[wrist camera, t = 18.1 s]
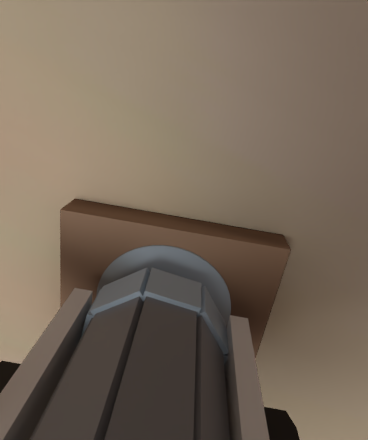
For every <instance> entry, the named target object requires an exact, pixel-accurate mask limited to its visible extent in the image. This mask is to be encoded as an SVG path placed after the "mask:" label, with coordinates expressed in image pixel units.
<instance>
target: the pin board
mask: <svg viewBox="0 0 368 440" xmlns="http://www.w3.org/2000/svg"><path fill="white" fill-rule="evenodd" d="M60 249H61V307H62V305H63V304H64V303H65V301H66V300H67V298H68V297H69V295H70V294H71V293H72V291H73V290H74V288H78V289H84V290H90V291H93V293H92V304H93V302H94V300H95V298H96V296H97V295H98V293H99V291H100V289H102V287H103V286H104V285H107V284H109V283H112V282H114V281H116V280H119V279H121V278H123V277H126V276H128V275H131V274H133V273H135V272H138V271H140V270H142V269H145V268H148V270H149V272H151V269H152V268H155V269H159V270H162V271H165V272H168V273H171V274H174V275H177V276H181V277H184V278H187V279H190V280H193V281H196V282H200V283H201V287H204V286H205V287H206V288H207V290H208V292H209V294H210V296H211V298H212V299H213V301H214V303H215V305H216V307H217V308H218V310H219V312H220V314H221V316H222V317H223V319H224V321H225V323H226V328H227V325H228V321H229V317H230V315H232V316H237V317H243V318H248V321H249V327H250V333H251V338H252V344H253V349H254V355H255V358H256V355H257V352H258V349H259V346H260V343H261V340H262V337H263V334H264V330H265V327H266V324H267V321H268V318H269V315H270V312H271V309H272V306H273V303H274V300H275V297H276V294H277V291H278V288H279V285H280V282H281V279H282V276H283V273H284V270H285V267H286V264H287V261H288V257H289V254H290V251H291V249H290V247H289V245H288V243H287V241H286V240H285V238H284V236H283V235H280V234H274V233H268V232H262V231H257V230H251V229H245V228H239V227H234V226H228V225H222V224H216V223H211V222H205V221H199V220H193V219H188V218H182V217H176V216H170V215H165V214H159V213H153V212H147V211H142V210H136V209H130V208H124V207H119V206H113V205H107V204H101V203H96V202H90V201H84V200H78V199H74V200H73V201H71V202H70V203H69V204H67V205H66V206H65V207H63V208H62V209H61V210H60Z"/></svg>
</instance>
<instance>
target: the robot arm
mask: <svg viewBox="0 0 368 440" xmlns="http://www.w3.org/2000/svg"><path fill="white" fill-rule="evenodd" d="M92 293H93V291H90V290H84V289H78V288H74V290H73V291H72V293H71V294H70V295H69V297H68V298H67V300H66V301H65V303H64V304H63V305H62V307H61V308H60V310H59V311H58V312H57V314H56V315H55V317H54V318H53V319H52V321H51V322H50V324H49V325H48V327H47V328H46V329H45V331H44V332H43V334H42V335H41V336H40V338H39V339H38V341H37V342H36V344H35V345H34V346H33V348H32V349H31V351H30V352H29V353H28V355H27V356H26V358H25V359H24V361H23V362H22V363H21V364H17V363H11V362H6V361H1V362H0V440H30V438H31V436H32V434H33V432H34V430H35V428H36V426H37V424H38V422H39V420H40V418H41V416H42V414H43V412H44V410H45V408H46V406H47V404H48V402H49V400H50V398H51V396H52V395H53V393H54V391H55V389H56V387H57V385H58V383H59V381H60V379H61V377H62V375H63V373H64V371H65V369H66V367H67V365H68V363H69V361H70V359H71V357H72V355H73V353H74V351H75V349H76V347H77V345H78V343H79V342H80V339H81V335H82V331H83V328H84V324H85V320H86V316H87V313H88V311H89V309H90V308H91V306H92ZM227 338H228V349H229V353H227V355H228V357H227V361H226V364H225V366H224V369H225V382H226V394H227V406H228V419H229V431H230V440H300V439H299V436H298V432H297V428H296V426H295V425H294V423H293V422H292V420H291V418H290V417H289V415H288V413H287V412H286V411H284V410H278V409H273V408H267V407H264V405H263V400H262V394H261V389H260V383H259V377H258V372H257V366H256V361H255V355H254V349H253V344H252V338H251V333H250V327H249V321H248V318H243V317H237V316H232V315H230V317H229V321H228V325H227Z"/></svg>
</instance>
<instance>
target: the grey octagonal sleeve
mask: <svg viewBox="0 0 368 440" xmlns="http://www.w3.org/2000/svg"><path fill="white" fill-rule="evenodd" d="M227 353H229V349H228V338H227V328H226V323H225V321H224V319H223V317H222V316H221V314H220V312H219V310H218V308H217V307H216V305H215V303H214V301H213V299H212V298H211V296H210V294H209V292H208V290H207V288H206V287H205V286H204V287H201V283H200V282H196V281H193V280H190V279H187V278H184V277H181V276H177V275H174V274H171V273H168V272H165V271H162V270H159V269H155V268H152V269H151V272H149V270H148V268H145V269H142V270H140V271H138V272H135V273H133V274H131V275H128V276H126V277H123V278H121V279H119V280H116V281H114V282H112V283H109V284H107V285H104V286H103V287H102V289H100V291H99V293H98V295H97V296H96V298H95V300H94V302H93V304H92V306H91V308H90V309H89V311H88V313H87V316H86V320H85V324H84V328H83V331H82V335H81V339H80V342H79V343H78V345H77V347H76V349H75V351H74V353H73V355H72V357H71V359H70V361H69V363H68V365H67V367H66V369H65V371H64V373H63V375H62V377H61V379H60V381H59V383H58V385H57V387H56V389H55V391H54V393H53V395H52V396H51V398H50V400H49V402H48V404H47V406H46V408H45V410H44V412H43V414H42V416H41V418H40V420H39V422H38V424H37V426H36V428H35V430H34V432H33V434H32V436H31V438H30V440H230V431H229V419H228V406H227V394H226V382H225V369H224V366H225V364H226V361H227V357H228V355H227Z"/></svg>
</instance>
